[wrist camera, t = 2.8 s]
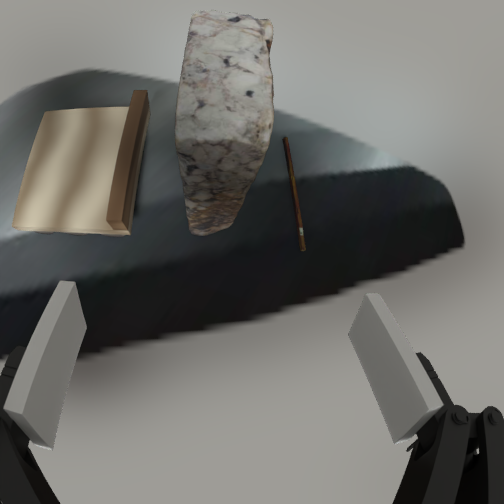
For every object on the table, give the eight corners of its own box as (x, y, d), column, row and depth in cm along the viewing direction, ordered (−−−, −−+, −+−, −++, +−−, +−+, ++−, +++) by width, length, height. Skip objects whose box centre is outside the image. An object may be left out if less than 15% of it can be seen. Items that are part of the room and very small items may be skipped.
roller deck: (29, 237, 31) (-2, 217, 24) (56, 130, 34) (37, 97, 27) (135, 242, 33) (121, 220, 26) (152, 128, 37) (147, 90, 30)
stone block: (180, 137, 37) (182, 4, 18) (236, 136, 39) (272, 8, 19) (182, 240, 34) (173, 138, 15) (245, 236, 36) (304, 139, 17)
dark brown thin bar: (281, 139, 40) (284, 135, 39) (285, 139, 40) (287, 135, 39) (299, 251, 37) (302, 249, 36) (303, 251, 37) (306, 249, 36)
